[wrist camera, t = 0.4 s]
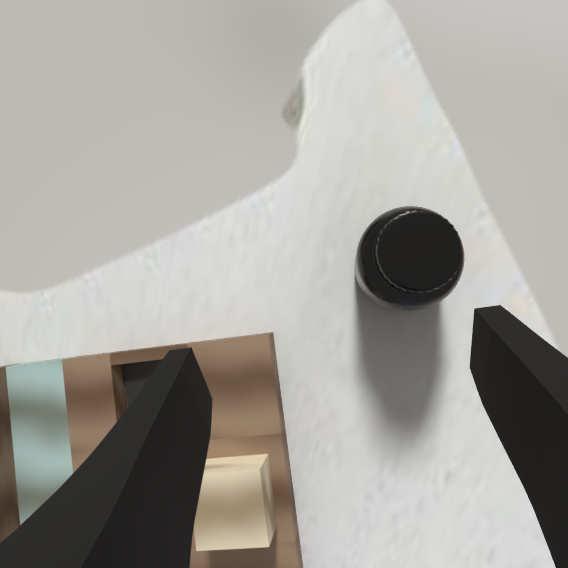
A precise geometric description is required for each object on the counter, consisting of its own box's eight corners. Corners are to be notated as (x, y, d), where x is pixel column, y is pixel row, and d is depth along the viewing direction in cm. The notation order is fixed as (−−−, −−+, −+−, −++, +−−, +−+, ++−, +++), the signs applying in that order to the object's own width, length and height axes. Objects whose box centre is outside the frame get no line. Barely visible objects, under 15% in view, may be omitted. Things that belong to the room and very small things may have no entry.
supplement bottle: (420, 322, 37) (453, 332, 25) (342, 291, 38) (337, 286, 26) (452, 244, 37) (500, 216, 25) (373, 215, 38) (382, 175, 26)
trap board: (310, 628, 37) (305, 673, 33) (32, 635, 41) (-7, 676, 36) (272, 332, 39) (262, 336, 34) (7, 365, 42) (-33, 372, 38)
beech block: (277, 523, 36) (269, 547, 32) (211, 527, 37) (196, 551, 33) (268, 453, 36) (259, 469, 33) (203, 459, 37) (187, 475, 34)
